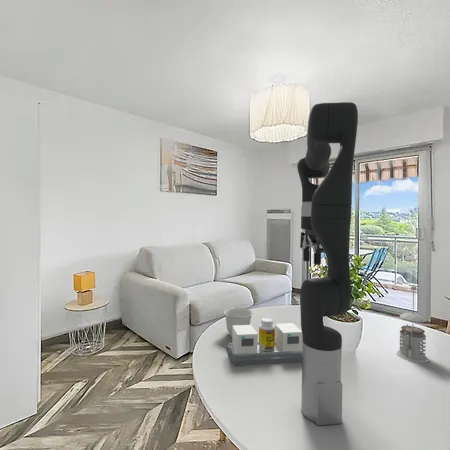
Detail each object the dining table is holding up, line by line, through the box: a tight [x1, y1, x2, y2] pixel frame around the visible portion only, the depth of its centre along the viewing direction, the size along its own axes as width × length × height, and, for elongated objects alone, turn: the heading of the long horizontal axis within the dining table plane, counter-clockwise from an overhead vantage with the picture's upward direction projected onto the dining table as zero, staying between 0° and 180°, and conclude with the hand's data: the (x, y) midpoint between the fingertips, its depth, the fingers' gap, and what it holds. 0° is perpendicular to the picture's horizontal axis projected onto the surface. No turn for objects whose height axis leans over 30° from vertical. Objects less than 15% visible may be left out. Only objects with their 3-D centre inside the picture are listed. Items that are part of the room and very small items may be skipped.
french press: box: [396, 285, 429, 363], centre depth 105 cm, size 10×12×25 cm
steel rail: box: [228, 341, 302, 358], centre depth 106 cm, size 25×9×1 cm, turn 99°
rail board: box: [226, 344, 302, 366], centre depth 106 cm, size 26×13×2 cm, turn 99°
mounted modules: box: [231, 322, 303, 354], centre depth 106 cm, size 23×9×7 cm, turn 99°
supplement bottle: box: [258, 317, 275, 351], centre depth 106 cm, size 6×6×10 cm
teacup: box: [223, 306, 254, 338], centre depth 124 cm, size 12×15×10 cm
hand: (311, 262), depth 103 cm, fingers open, 8 cm apart
